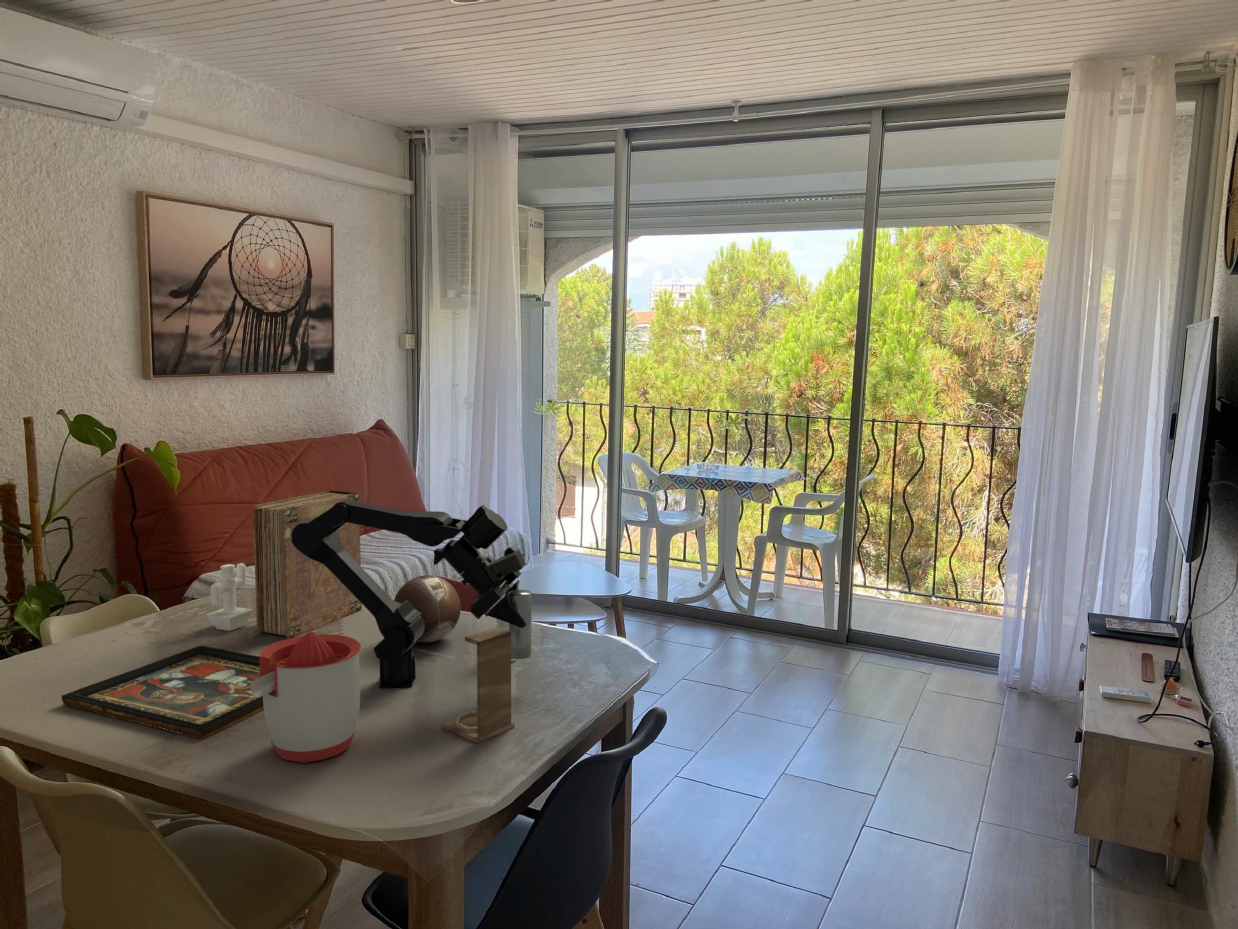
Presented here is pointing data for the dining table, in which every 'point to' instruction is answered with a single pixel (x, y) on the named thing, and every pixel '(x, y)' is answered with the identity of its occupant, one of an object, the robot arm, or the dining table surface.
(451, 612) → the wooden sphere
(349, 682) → the citrus juicer
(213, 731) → the framed icon painting
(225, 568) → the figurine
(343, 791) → the dining table surface
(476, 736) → the ledge stand
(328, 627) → the dining table surface
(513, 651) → the metal tin
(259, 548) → the book
